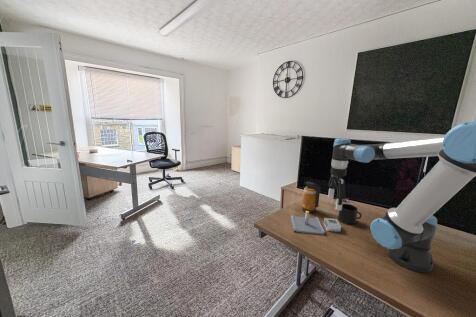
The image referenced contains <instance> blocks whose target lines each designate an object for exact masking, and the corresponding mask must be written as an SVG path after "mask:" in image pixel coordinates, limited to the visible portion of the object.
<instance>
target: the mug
mask: <svg viewBox="0 0 476 317" xmlns="http://www.w3.org/2000/svg"><path fill="white" fill-rule="evenodd" d="M358 214H359V217H357V216H358ZM362 216H363V215H362V213H361V212H360V211H359V210H358V207H356V206H354V205H353V204H349V203H342V210H338V216H337V217H338V218H337V220H338V221H339V222H341V223H343V224H346V225H355V224H356V223H357V220H359V219H361V218H362Z"/></svg>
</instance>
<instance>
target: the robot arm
mask: <svg viewBox="0 0 476 317" xmlns="http://www.w3.org/2000/svg"><path fill="white" fill-rule="evenodd" d="M332 147H333V149H332V158H331V163H330V164H331V167H330V178H329V181H328V184H327V186H328V188H329V189H328V195H327V199H328V200H333V201H334V196H335V189H336V193H337V194H336V195H337V197H336V203H335V204H336V205H335V210H336V211H339V210H342V204H344V203H343V201H344V200H346V187H345V184H346V179H343V177H346V176H347V171H348V169H347V168H348V164H350V163H349V160H353V161H356V162H360V163H365V164H367V163H370V162H371V161H373V160H388V159H389V160H390V159H404V158H405V159H406V158H407V159H408V158H425V157H428V158H429V157H438V158H439V160H438V161H437V163H436V164H435V165H434V166H433V167H432V168H431V169H430V171H429V172H427V173H426V175H425V176H424V177H423V178H422V179H421V180H420V182H418V184H416V186H415V187H414V188H413V189H412V190H411V191H410V193H408V194H407V196H406V197H405V198H403V200H402V201H401V203H399V205H397V207H391V208H388V210H387V211H386V212H385V213H384V214H383V215H382V216H381V217H379V218H375V219H373V220H372V221H371V223H370V225H369V227H370V232H371V236H372V237H373V239H374V240H375V241H376V242H377V244H379V245H380V246H381V247H383V248H385V249H386V250H387V255H388V257H389V259H391V260H392V261H394V262H395V263H396V264H398V265H399V266H401V267H404V268H406V269H409V270H410V271H415V272H419V273H430V272H432V270H433V268H434V260H433V256H432V245H433V242H434V237H435V234H436V229H437V227H438V219H437V217H436V216H435V215H434V214H435V213H436V212H438V211H439V210H440V209H441V208H442V207H443V206H444V205H446V203H448V201H450V200H451V199H452V198H453V197H454V196H455V195H456V194H457V193H458V192H459V191H460V190H461V189H463V188H464V187H465V186H466V185H467V184H468V183H469V182H470V181H472V180H473V178H475V177H476V119H475V120H469V121H465V122H461V123H459V124H458V125H455V126H454V127H452V128H451V129H449V131H448V132H447V133H445V134H444V135H438V136H436V135H435V136H430V137H422V138H414V139H413V138H412V139H409V140H407V139H406V140H399V141H392V142H385V143H378V144H377V143H376V144H375V143H374V144H373V143H372V144H355V143H352V141H351V139H350V138H344V137H342V138H341V137H339V138H338V137H337V138H335V139H334V142H333V146H332Z"/></svg>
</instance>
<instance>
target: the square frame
mask: <svg viewBox="0 0 476 317" xmlns="http://www.w3.org/2000/svg"><path fill="white" fill-rule="evenodd" d="M323 225H324V227H325V230H326V231H327V232H334V233H335V232H336V233H341V230H342V225H341V223H340V221H339V219H338V218H329V217H324V218H323Z"/></svg>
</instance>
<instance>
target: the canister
mask: <svg viewBox="0 0 476 317" xmlns="http://www.w3.org/2000/svg"><path fill="white" fill-rule="evenodd" d="M304 184H305V185H306V186H305V187H304V189H303V191H302V192H303V193H302V198H301V199H302V200H301V210H302V211H304V212H306V211H309V213H315V212H316V208H318V207H320V206H319V201H320V193H321V190H322V187H321V186H320V185H319V184H318V183H317V182H312V181H306V182H304Z"/></svg>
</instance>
